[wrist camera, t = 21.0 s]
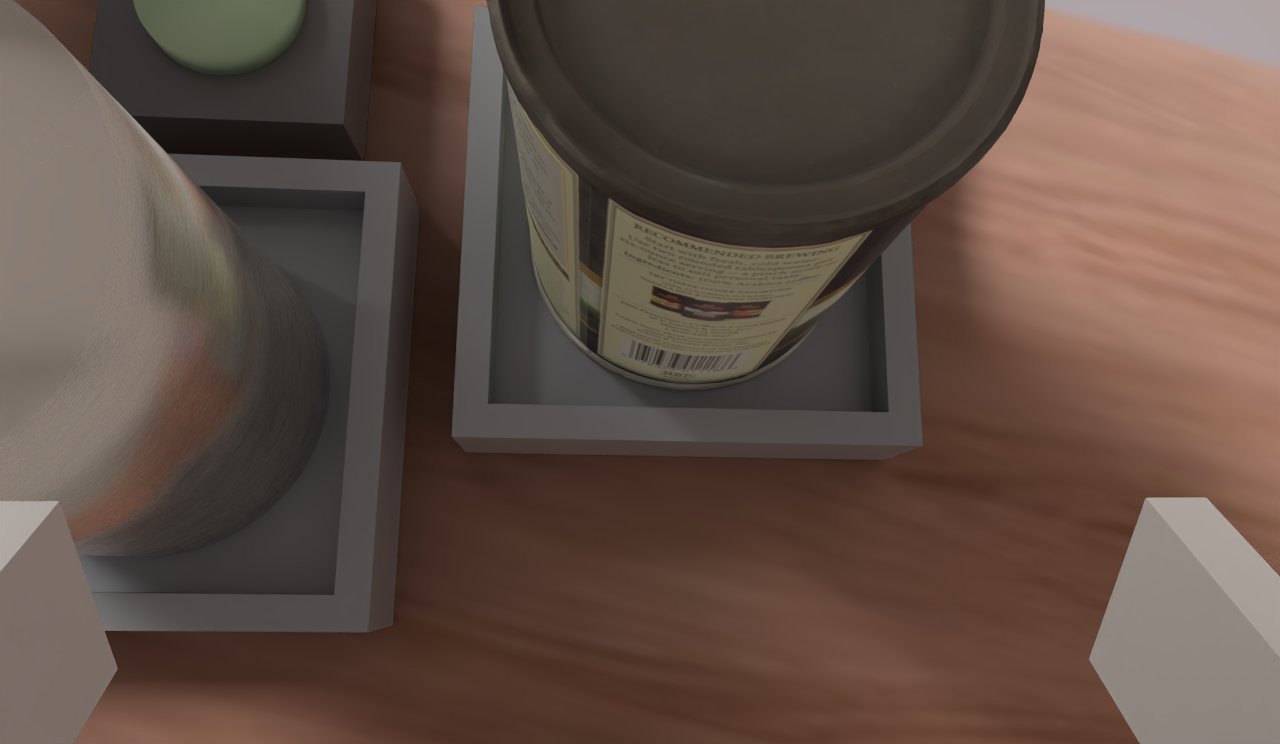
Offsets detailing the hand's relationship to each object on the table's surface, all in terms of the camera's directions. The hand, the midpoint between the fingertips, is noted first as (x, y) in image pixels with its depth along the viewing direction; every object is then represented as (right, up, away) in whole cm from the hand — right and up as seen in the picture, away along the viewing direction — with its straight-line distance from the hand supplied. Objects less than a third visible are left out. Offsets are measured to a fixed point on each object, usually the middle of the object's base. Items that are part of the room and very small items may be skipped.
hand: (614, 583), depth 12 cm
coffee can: (+2, +7, +19) cm, 20 cm away
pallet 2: (+2, +7, +21) cm, 22 cm away
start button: (-13, +14, +21) cm, 29 cm away
